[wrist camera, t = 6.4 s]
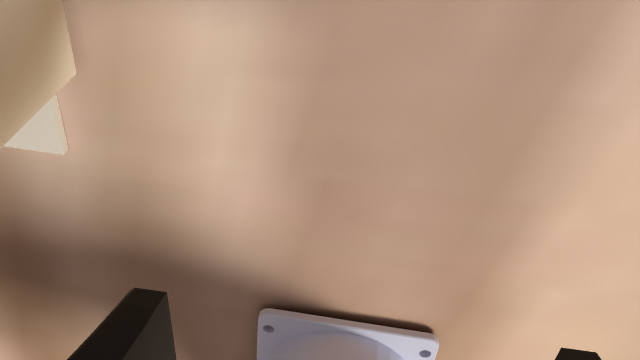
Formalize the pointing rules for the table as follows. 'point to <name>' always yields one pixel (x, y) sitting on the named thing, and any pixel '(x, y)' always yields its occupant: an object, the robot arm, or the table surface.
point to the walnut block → (31, 60)
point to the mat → (42, 131)
